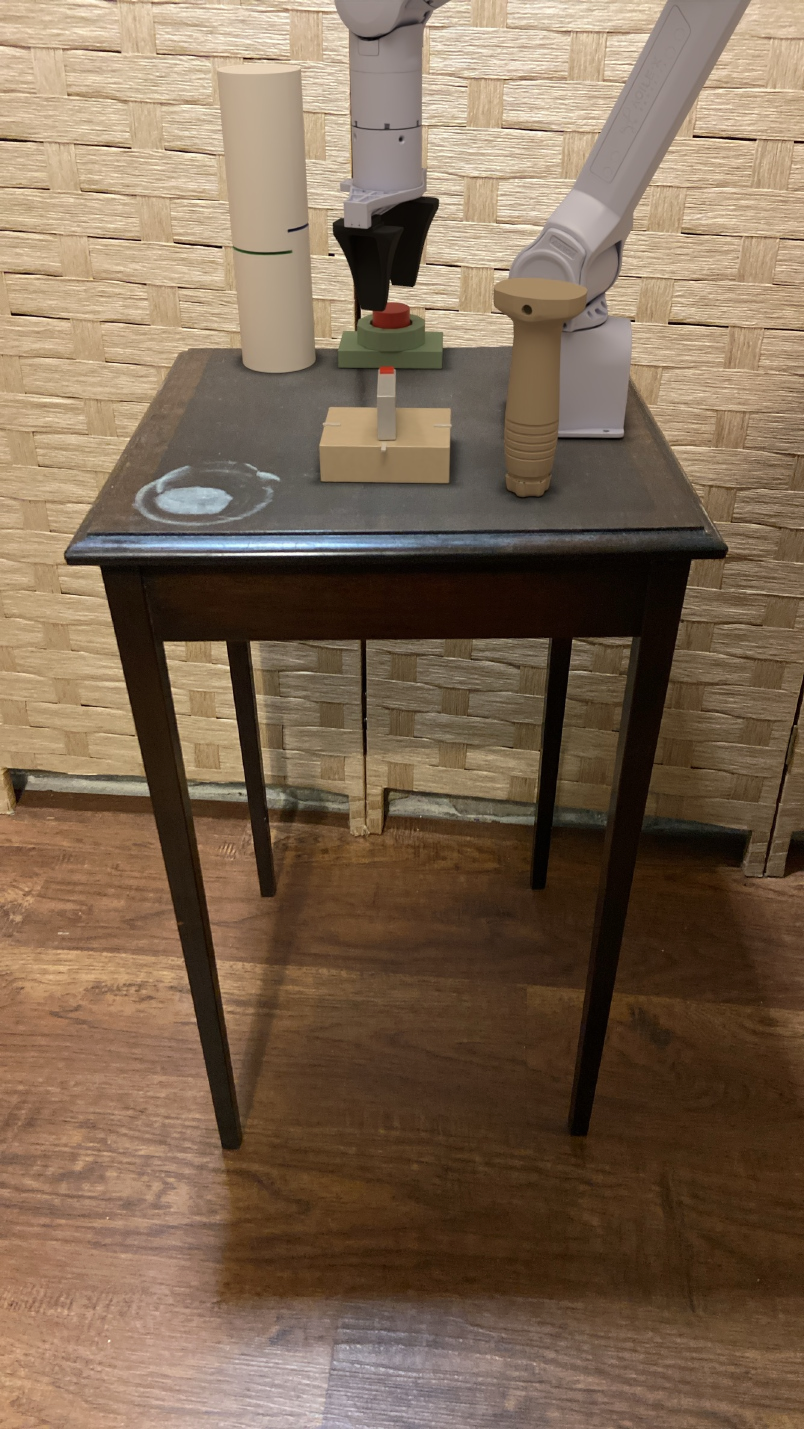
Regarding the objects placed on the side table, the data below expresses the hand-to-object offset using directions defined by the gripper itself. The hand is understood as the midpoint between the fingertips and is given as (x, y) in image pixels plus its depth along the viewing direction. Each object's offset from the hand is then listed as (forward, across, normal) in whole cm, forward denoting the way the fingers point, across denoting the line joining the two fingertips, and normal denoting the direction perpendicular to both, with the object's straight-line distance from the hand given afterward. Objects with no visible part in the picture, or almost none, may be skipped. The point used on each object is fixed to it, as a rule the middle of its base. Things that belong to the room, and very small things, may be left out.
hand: (388, 297), depth 99 cm
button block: (+8, -8, -3) cm, 12 cm away
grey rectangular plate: (+5, +15, +5) cm, 17 cm away
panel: (+8, +15, +6) cm, 18 cm away
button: (+5, -8, -3) cm, 10 cm away
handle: (+8, +17, +18) cm, 26 cm away
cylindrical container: (+8, -4, -13) cm, 16 cm away
